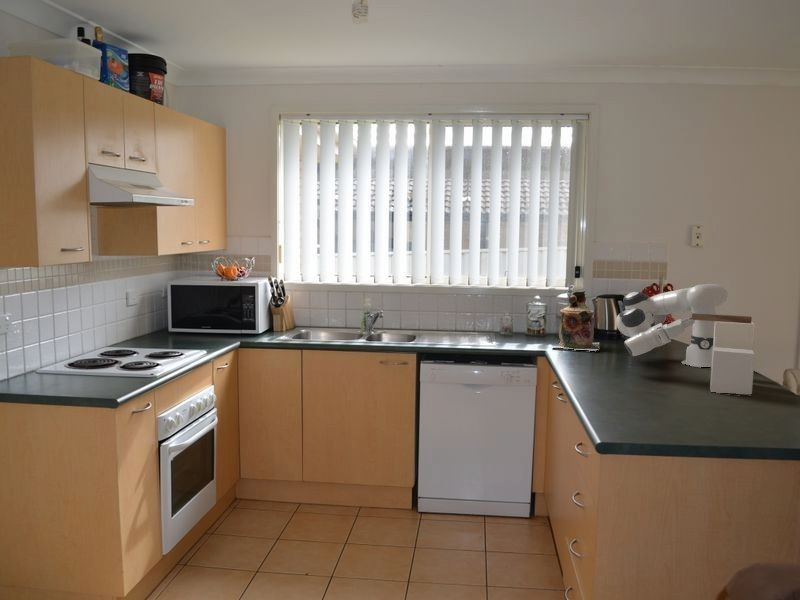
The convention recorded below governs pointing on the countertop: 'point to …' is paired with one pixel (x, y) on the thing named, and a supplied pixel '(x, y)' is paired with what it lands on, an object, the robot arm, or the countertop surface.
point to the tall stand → (734, 335)
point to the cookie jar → (577, 324)
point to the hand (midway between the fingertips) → (694, 319)
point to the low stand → (732, 370)
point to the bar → (722, 318)
